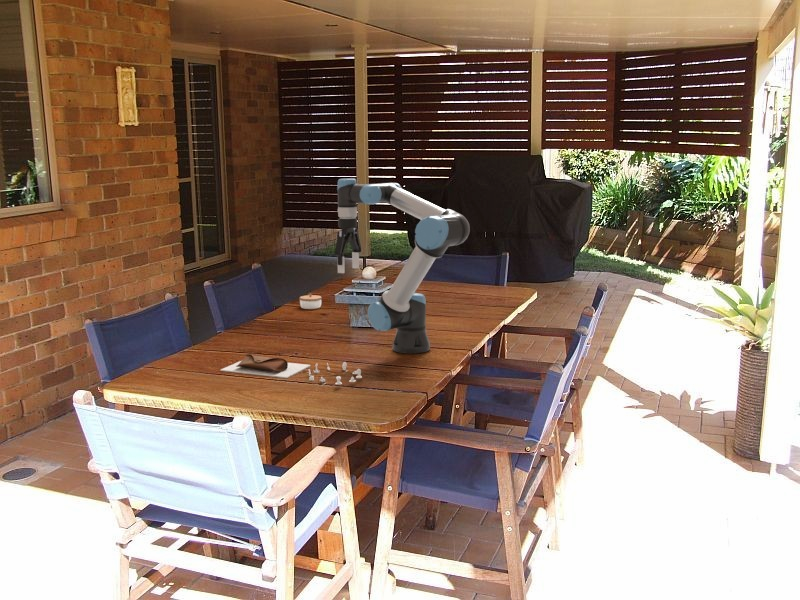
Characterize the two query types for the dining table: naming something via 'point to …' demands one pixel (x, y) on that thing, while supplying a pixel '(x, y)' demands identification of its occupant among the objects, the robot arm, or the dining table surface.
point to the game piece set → (337, 376)
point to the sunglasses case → (263, 363)
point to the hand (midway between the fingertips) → (348, 270)
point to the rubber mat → (290, 371)
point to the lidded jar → (310, 301)
